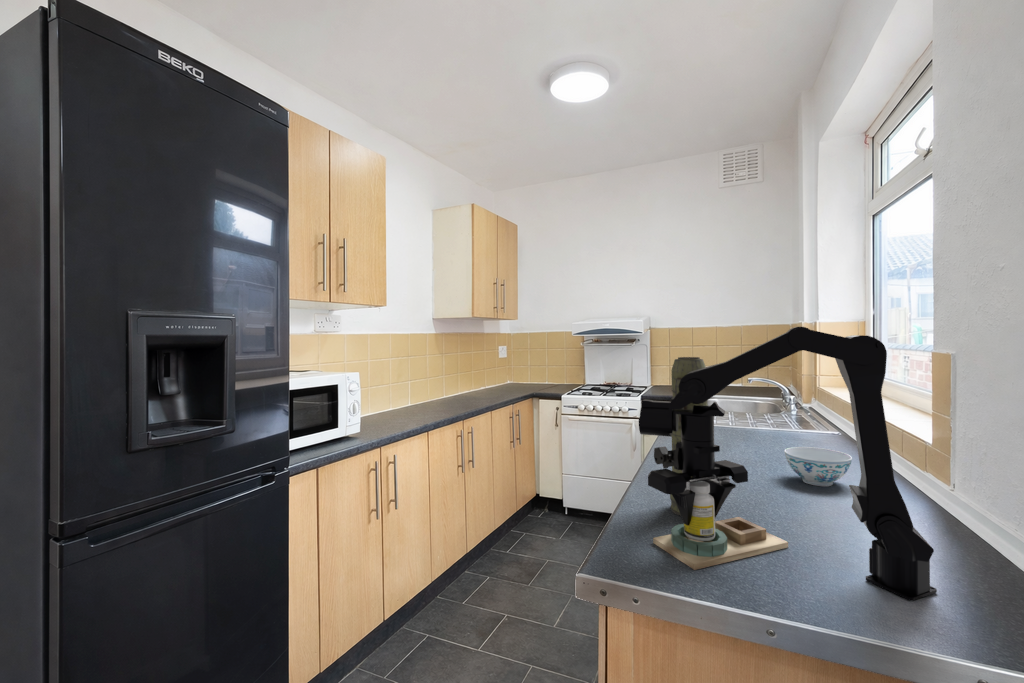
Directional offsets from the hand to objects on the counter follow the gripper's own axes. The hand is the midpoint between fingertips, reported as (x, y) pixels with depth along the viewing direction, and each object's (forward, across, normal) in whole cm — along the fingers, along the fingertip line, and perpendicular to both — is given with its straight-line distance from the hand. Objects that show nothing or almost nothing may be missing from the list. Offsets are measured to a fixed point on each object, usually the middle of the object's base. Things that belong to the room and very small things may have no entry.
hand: (699, 522), depth 84 cm
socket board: (+5, -5, 0) cm, 7 cm away
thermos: (+5, -12, -16) cm, 20 cm away
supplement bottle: (+3, 0, 0) cm, 3 cm away
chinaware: (+6, -57, -19) cm, 60 cm away
